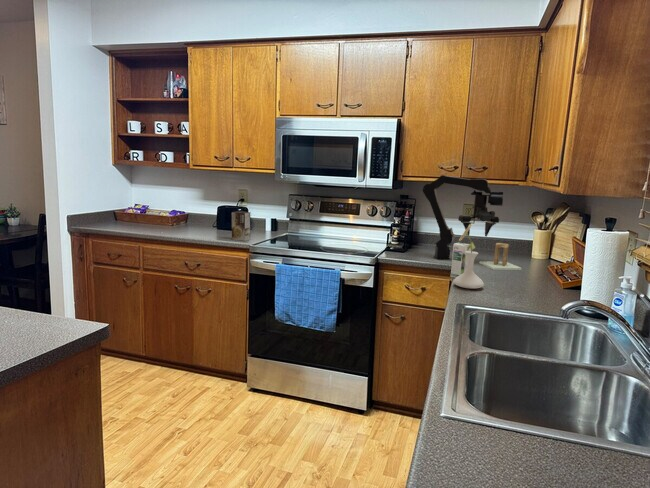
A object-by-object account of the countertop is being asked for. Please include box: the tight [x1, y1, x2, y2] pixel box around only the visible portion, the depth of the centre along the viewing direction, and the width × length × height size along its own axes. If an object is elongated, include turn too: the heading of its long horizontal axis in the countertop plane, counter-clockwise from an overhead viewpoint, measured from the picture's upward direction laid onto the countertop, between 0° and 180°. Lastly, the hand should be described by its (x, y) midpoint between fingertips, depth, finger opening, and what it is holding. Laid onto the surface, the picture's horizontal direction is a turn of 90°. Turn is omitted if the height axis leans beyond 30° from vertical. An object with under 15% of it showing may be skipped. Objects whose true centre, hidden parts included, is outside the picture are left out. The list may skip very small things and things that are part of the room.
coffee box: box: [231, 211, 252, 242], centre depth 265 cm, size 9×6×16 cm
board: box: [478, 260, 523, 271], centre depth 220 cm, size 14×14×1 cm
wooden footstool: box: [493, 242, 510, 266], centre depth 219 cm, size 5×5×10 cm
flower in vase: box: [453, 223, 485, 290], centre depth 176 cm, size 13×11×25 cm
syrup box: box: [450, 242, 471, 279], centre depth 193 cm, size 6×6×14 cm
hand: (477, 236), depth 227 cm, fingers open, 9 cm apart
